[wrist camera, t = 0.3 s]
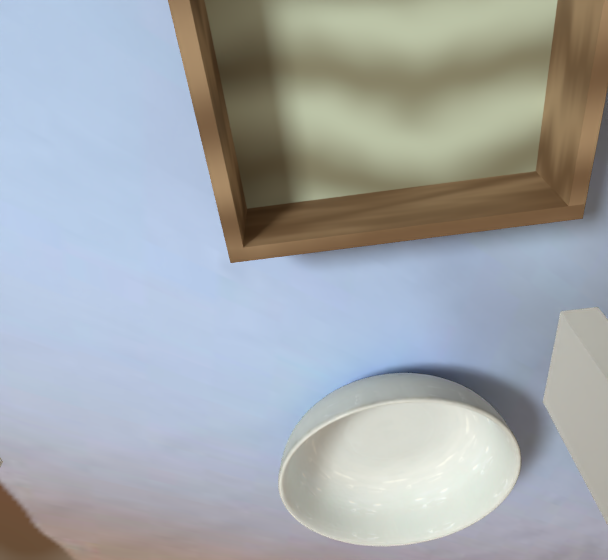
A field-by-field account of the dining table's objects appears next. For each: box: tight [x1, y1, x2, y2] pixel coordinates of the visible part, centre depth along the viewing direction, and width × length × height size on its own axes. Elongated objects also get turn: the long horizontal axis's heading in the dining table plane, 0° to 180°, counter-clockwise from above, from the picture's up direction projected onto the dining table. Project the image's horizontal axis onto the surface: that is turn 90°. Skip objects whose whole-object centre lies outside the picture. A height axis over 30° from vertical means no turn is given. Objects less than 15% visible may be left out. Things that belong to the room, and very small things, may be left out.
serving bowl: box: [278, 373, 521, 546], centre depth 50 cm, size 21×21×7 cm
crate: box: [168, 0, 608, 263], centre depth 32 cm, size 18×22×6 cm
